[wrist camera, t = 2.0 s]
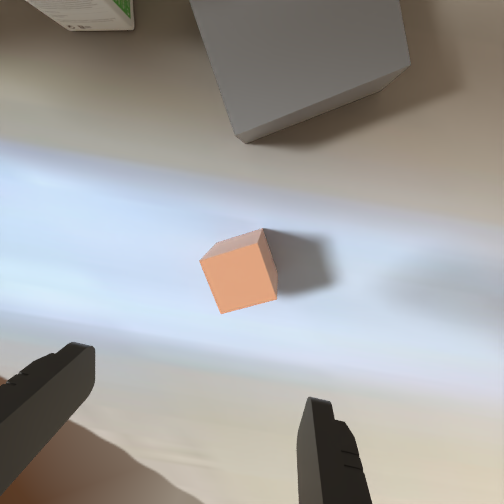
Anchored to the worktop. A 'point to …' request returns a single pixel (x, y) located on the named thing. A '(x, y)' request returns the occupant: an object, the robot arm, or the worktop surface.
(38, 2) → the skincare box
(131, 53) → the worktop surface
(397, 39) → the gray slab
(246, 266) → the terracotta block
